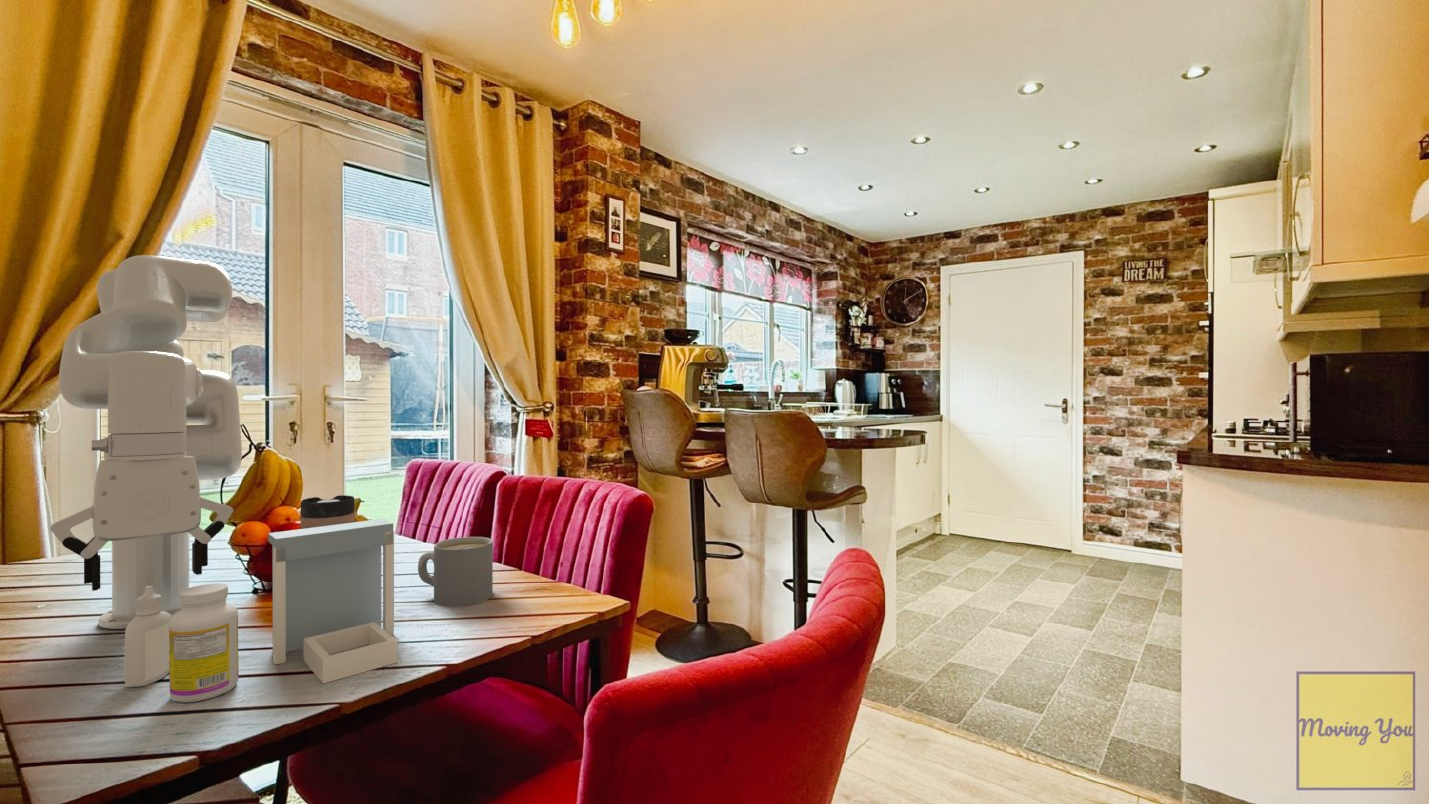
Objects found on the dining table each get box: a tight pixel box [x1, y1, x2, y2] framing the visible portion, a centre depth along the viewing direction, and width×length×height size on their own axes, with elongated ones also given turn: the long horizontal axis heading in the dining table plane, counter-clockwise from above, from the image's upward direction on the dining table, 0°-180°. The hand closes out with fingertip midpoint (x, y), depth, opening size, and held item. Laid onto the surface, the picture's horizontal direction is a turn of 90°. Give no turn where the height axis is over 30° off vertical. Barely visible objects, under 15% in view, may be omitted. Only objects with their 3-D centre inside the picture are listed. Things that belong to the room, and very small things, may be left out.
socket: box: [303, 622, 399, 684], centre depth 86 cm, size 10×9×3 cm
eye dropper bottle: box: [124, 586, 171, 688], centre depth 80 cm, size 4×6×12 cm
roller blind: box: [267, 518, 395, 665], centre depth 92 cm, size 5×15×17 cm, turn 135°
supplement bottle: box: [168, 583, 240, 703], centre depth 77 cm, size 7×7×13 cm
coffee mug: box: [417, 536, 494, 608], centre depth 114 cm, size 13×10×10 cm
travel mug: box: [299, 494, 356, 529], centre depth 101 cm, size 8×8×20 cm
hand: (148, 580), depth 80 cm, fingers open, 9 cm apart
